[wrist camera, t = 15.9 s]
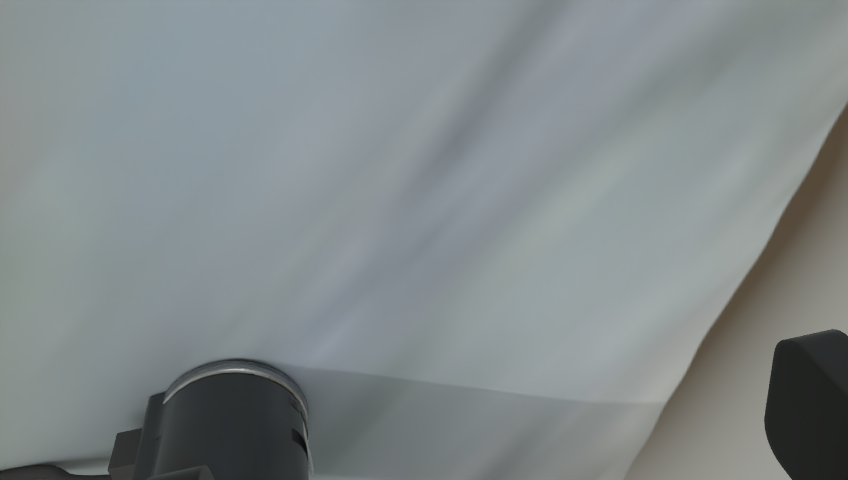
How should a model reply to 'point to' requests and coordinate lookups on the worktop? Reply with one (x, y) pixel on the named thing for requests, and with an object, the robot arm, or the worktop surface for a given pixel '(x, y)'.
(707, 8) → the worktop surface
